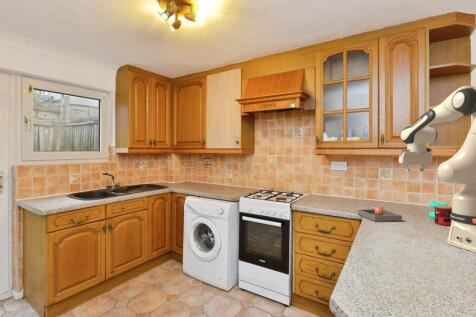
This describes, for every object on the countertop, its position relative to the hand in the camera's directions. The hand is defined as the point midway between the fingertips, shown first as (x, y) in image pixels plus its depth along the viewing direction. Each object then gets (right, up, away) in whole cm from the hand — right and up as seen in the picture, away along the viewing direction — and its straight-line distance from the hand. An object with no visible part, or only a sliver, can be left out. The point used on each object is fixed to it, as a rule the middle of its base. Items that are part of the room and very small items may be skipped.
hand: (415, 171), depth 158 cm
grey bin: (-19, -31, +7) cm, 37 cm away
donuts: (+21, -31, +8) cm, 39 cm away
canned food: (+12, -32, -7) cm, 34 cm away
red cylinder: (-19, -30, +7) cm, 36 cm away
